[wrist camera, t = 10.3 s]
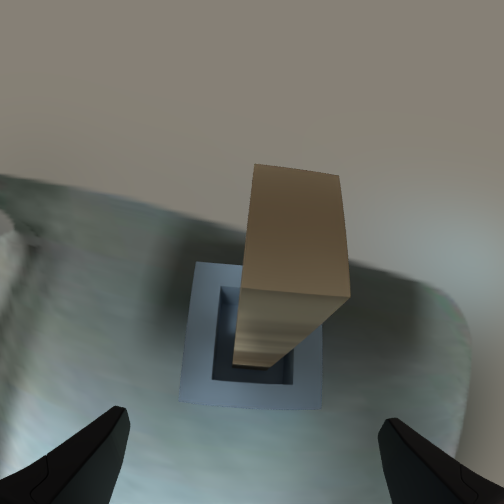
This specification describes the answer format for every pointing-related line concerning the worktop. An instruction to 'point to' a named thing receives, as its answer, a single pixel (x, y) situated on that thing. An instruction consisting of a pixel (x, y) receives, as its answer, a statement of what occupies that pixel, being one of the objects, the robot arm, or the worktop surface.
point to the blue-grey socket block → (222, 347)
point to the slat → (289, 263)
